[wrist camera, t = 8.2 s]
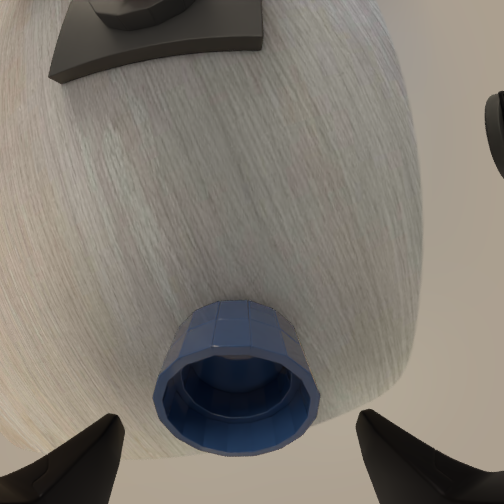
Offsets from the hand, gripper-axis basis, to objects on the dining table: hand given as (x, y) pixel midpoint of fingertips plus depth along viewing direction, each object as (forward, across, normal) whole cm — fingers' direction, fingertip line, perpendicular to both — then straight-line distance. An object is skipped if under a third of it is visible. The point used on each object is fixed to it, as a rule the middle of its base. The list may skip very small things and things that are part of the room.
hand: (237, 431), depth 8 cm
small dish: (+6, 0, 0) cm, 6 cm away
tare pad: (+6, +4, -19) cm, 20 cm away
